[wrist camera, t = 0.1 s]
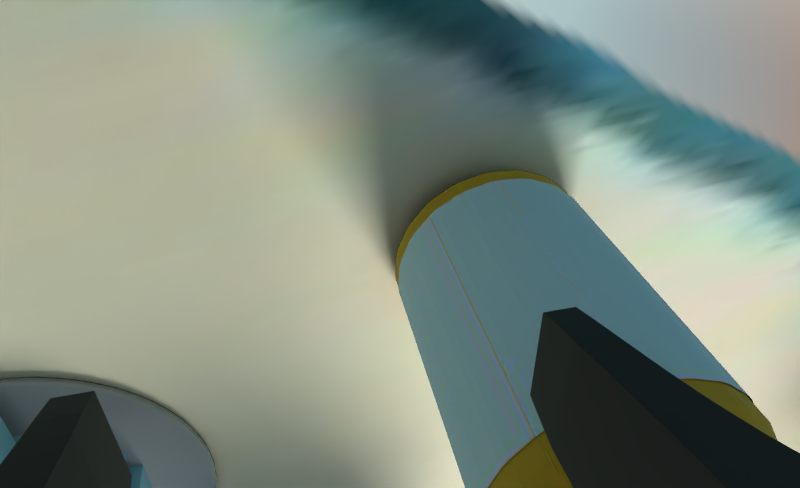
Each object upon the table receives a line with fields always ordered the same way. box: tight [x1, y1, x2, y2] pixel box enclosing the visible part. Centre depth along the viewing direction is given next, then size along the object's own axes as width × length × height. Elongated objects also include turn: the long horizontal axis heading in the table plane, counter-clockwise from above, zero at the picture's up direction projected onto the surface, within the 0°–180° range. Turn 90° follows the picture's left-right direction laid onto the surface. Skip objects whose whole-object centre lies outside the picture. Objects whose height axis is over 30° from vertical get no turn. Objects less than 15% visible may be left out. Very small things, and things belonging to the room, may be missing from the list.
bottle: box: [395, 170, 777, 488], centre depth 16 cm, size 7×7×15 cm
